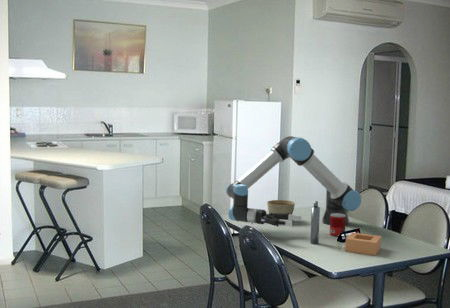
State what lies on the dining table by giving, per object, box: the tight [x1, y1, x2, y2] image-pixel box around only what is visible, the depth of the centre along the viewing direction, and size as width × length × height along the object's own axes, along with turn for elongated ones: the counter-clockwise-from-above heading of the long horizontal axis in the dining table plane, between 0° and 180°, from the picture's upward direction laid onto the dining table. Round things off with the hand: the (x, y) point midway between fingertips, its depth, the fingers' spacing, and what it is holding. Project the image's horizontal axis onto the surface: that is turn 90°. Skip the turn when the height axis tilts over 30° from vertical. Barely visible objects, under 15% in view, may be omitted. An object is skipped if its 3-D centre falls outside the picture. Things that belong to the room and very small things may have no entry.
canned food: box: [329, 213, 346, 237], centre depth 286 cm, size 8×8×11 cm
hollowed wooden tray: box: [344, 232, 382, 256], centre depth 258 cm, size 14×14×6 cm
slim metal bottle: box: [309, 200, 321, 245], centre depth 268 cm, size 4×4×21 cm
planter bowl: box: [266, 199, 296, 220], centre depth 317 cm, size 16×16×11 cm
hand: (296, 221), depth 272 cm, fingers open, 13 cm apart
